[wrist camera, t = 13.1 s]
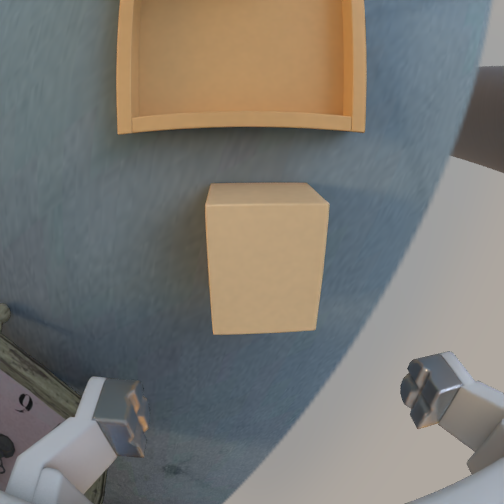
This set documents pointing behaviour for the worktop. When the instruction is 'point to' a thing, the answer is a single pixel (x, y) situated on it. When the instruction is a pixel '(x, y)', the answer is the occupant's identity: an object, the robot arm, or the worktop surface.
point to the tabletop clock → (31, 407)
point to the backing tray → (241, 64)
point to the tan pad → (265, 256)
